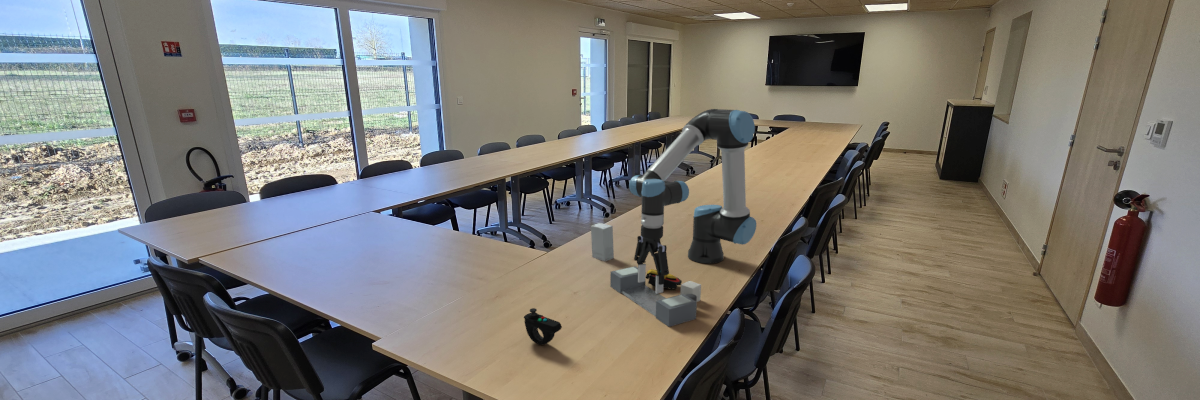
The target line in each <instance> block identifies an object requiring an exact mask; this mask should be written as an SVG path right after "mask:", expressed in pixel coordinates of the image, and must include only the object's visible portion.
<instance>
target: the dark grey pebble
mask: <svg viewBox="0 0 1200 400" xmlns="http://www.w3.org/2000/svg"><path fill="white" fill-rule="evenodd" d="M686 296H687V297H689V298H691V299H693V300H694V301H696V302H697V296H696V295H694V294H686ZM697 303H698V302H697Z"/></svg>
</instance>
